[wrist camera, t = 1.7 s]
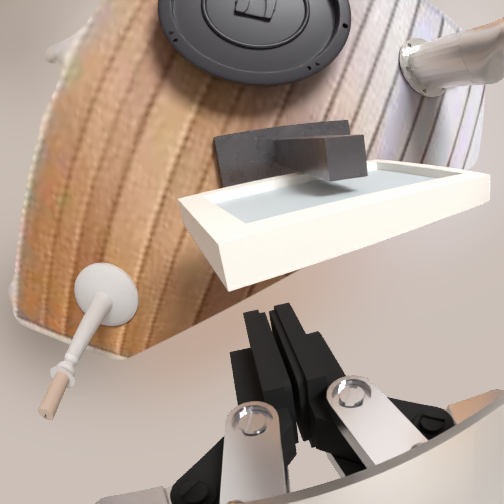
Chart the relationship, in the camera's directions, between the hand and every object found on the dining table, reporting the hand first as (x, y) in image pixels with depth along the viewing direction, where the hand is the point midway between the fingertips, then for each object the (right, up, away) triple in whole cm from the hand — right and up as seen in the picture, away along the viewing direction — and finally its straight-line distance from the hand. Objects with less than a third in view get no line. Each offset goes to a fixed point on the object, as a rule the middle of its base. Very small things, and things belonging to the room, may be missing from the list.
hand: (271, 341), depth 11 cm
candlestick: (-27, -5, +41) cm, 50 cm away
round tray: (0, +43, +28) cm, 51 cm away
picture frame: (+5, +12, +29) cm, 31 cm away
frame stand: (+5, +19, +37) cm, 42 cm away
